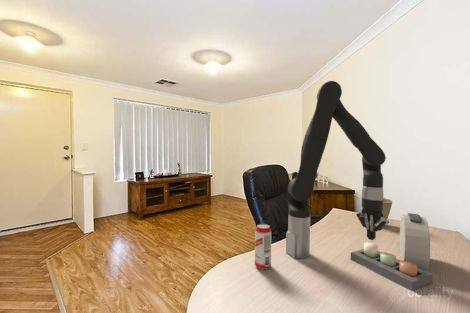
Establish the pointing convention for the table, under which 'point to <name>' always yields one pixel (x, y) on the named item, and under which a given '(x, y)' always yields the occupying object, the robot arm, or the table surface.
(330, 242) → the table surface
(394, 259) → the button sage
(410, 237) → the alarm clock
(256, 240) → the beer can
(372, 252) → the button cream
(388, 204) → the plant pot
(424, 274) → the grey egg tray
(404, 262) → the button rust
